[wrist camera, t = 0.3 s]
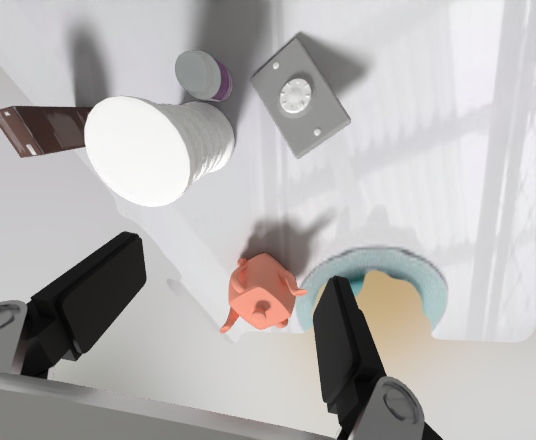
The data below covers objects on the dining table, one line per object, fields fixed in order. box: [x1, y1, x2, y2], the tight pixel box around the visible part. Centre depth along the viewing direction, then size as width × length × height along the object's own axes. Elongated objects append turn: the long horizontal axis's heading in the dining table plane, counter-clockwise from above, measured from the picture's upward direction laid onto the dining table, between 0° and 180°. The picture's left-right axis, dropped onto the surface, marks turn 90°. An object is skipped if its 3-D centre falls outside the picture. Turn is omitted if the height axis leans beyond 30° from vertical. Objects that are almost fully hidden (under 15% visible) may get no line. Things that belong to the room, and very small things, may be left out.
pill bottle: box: [175, 50, 233, 102], centre depth 28 cm, size 5×5×10 cm
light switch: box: [251, 37, 351, 159], centre depth 31 cm, size 8×6×14 cm
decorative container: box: [84, 96, 235, 207], centre depth 29 cm, size 12×12×18 cm
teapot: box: [220, 253, 307, 333], centre depth 44 cm, size 15×17×13 cm
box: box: [0, 106, 93, 158], centre depth 32 cm, size 6×4×12 cm
